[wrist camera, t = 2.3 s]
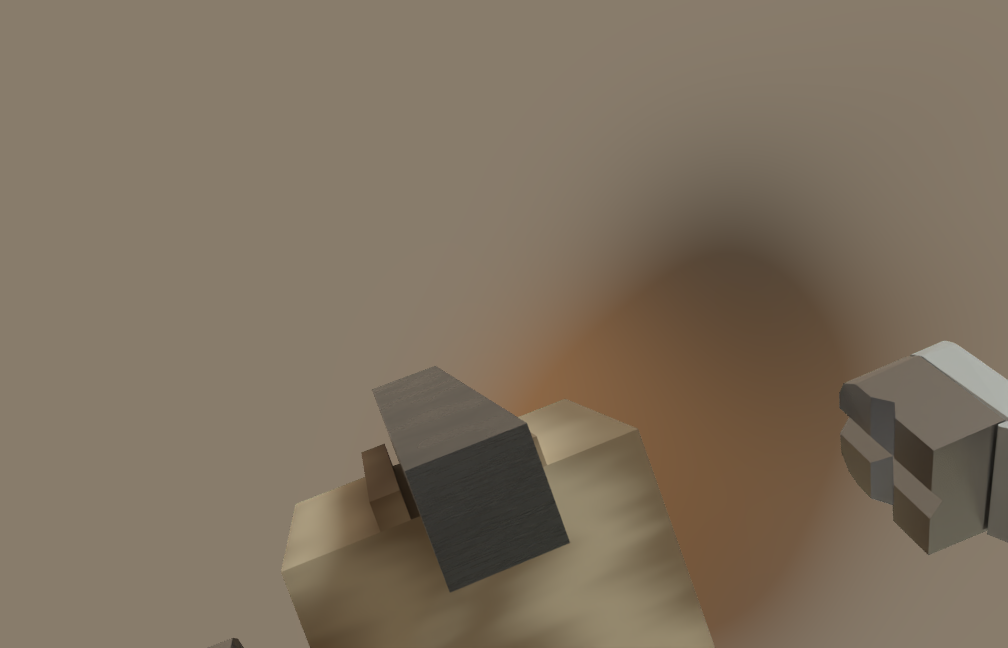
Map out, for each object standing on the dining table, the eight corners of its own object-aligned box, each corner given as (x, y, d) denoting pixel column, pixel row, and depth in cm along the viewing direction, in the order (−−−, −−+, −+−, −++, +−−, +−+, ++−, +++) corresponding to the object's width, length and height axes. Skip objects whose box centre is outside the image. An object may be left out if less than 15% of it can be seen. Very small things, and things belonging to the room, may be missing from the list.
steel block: (450, 592, 22) (404, 471, 21) (395, 452, 42) (372, 389, 42) (570, 542, 22) (526, 422, 22) (458, 428, 43) (435, 365, 43)
